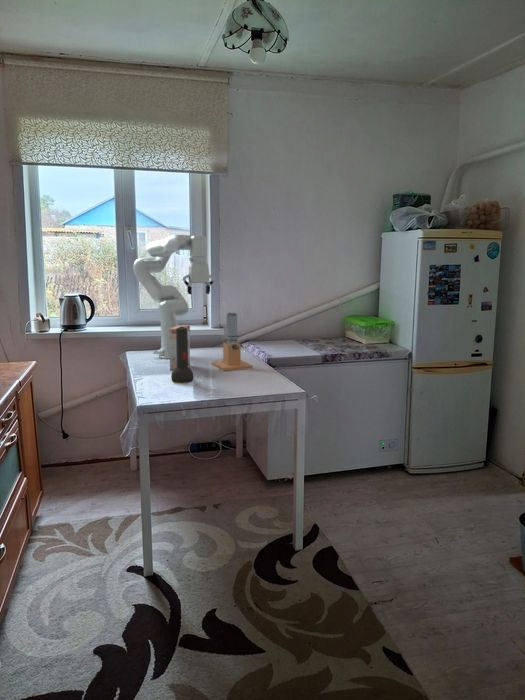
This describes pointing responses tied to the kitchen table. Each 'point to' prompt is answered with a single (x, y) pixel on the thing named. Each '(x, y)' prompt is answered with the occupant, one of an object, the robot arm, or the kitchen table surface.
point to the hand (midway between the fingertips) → (198, 293)
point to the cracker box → (173, 346)
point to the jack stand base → (231, 358)
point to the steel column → (231, 328)
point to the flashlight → (182, 358)
